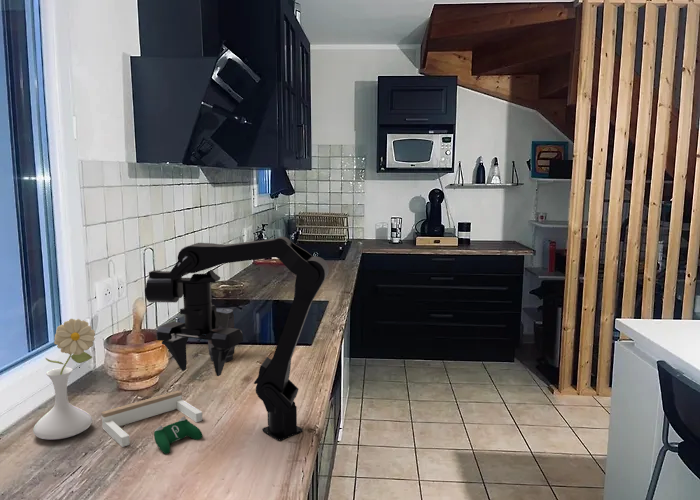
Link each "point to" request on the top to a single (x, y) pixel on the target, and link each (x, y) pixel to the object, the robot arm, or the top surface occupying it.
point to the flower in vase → (64, 415)
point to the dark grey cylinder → (230, 325)
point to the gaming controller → (175, 433)
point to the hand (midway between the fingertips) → (201, 372)
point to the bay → (145, 413)
